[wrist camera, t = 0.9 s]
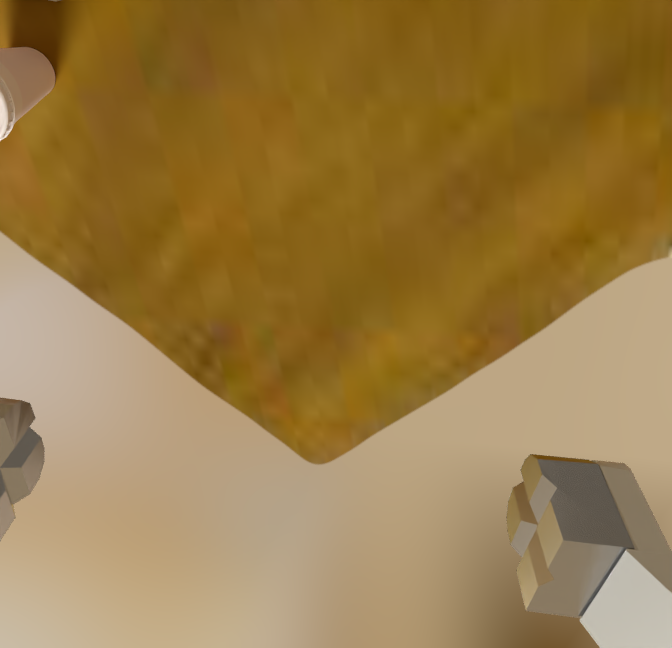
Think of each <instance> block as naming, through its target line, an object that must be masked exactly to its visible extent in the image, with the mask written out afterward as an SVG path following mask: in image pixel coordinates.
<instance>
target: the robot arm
mask: <svg viewBox="0 0 672 648" xmlns="http://www.w3.org/2000/svg"><path fill="white" fill-rule="evenodd" d="M33 420H35V416H34V413H33V410H32V407H31V404H30V403H28V402H25V401H22V400H14V399H6V398H0V541H1V539H2V538H3V536H4V534H5V533H6V531H7V530H8V528H9V527H10V525H11V523H12V522H13V520H14V519H15V512H14V506H13V504H15V503H16V502H18V501H19V500H21V499H23V498H24V497H26V496H28V495H29V494H30V493H31V491H32V490H33V488H34V487H35V485H36V483H37V481H38V480H39V478H40V474H41V471H42V468H43V464H44V445H43V442H42V438H41V437H40V436H39V435H38V434H37V433H36V432H34V431H33V430H32V429H31V428H30V425H31V424H32V422H33ZM521 474H522V477H523V482H522V483H520V484H519V485H517V486H515V487H514V488H513V489H512V492H511V495H510V498H509V500H508V507H507V517H506V518H507V531H508V535H509V540H510V545H511V546H512V547H513V548H514V549H515V550H516V551H517V553H518V554H519V555H520V556H521V557H522V559H521V561H520V563H519V566H518V568H517V570H516V572H517V576H518V580H519V584H520V588H521V593H522V597H523V601H524V606H525V610H526V611H532V612H540V613H546V614H554V615H561V616H569V617H576V618H581V619H580V622H581V623H582V625H583V626H584V627H585V629H586V630H587V631H588V632H589V634H590V635H591V636H592V638H593V639H594V640H595V642H596V643H597V644H598V646H599V647H600V648H672V551H671V549H670V547H669V545H668V543H667V541H666V539H665V537H664V535H663V533H662V531H661V529H660V527H659V525H658V523H657V521H656V519H655V517H654V515H653V513H652V511H651V509H650V507H649V505H648V503H647V501H646V499H645V497H644V495H643V493H642V491H641V489H640V487H639V485H638V483H637V481H636V479H635V477H634V475H633V473H632V471H631V469H630V468H629V467H628V466H627V465H625V464H624V463H615V462H605V461H595V460H594V461H593V460H592V461H590V460H585V459H575V458H565V457H554V456H543V455H533V454H530V455H529V456H528V457H527V458H526V459H525V461H524V463H523V465H522V468H521Z"/></svg>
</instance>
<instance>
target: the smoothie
mask: <svg viewBox="0 0 672 648" xmlns="http://www.w3.org/2000/svg"><path fill="white" fill-rule="evenodd" d="M54 85H55V72H54V69H53V67H52V65H51V63H50V62H49V60H48V59H47V58H46V57H45V56H44V55H43V54H42V53H41V52H39V51H37V50H36V49H33V48H30V47H17V48H0V140H2V139H4V138H5V137H7V135H8V134H9V133H10V131H11V130H12V129H13V125H14V123H15V122H16V121H17V120H19V119H20V118H21V117H22V116H23V115H24V114H25V113H27V112H28V111H29V110H30V109H31V108H32V107H33V106H35V105H36V104H37V103H38V102H39V101H40V100H41V99H43V98H44V97H45V96H46V95H47V94H48V93H49V92H51V90H52V89H53V87H54Z"/></svg>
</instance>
